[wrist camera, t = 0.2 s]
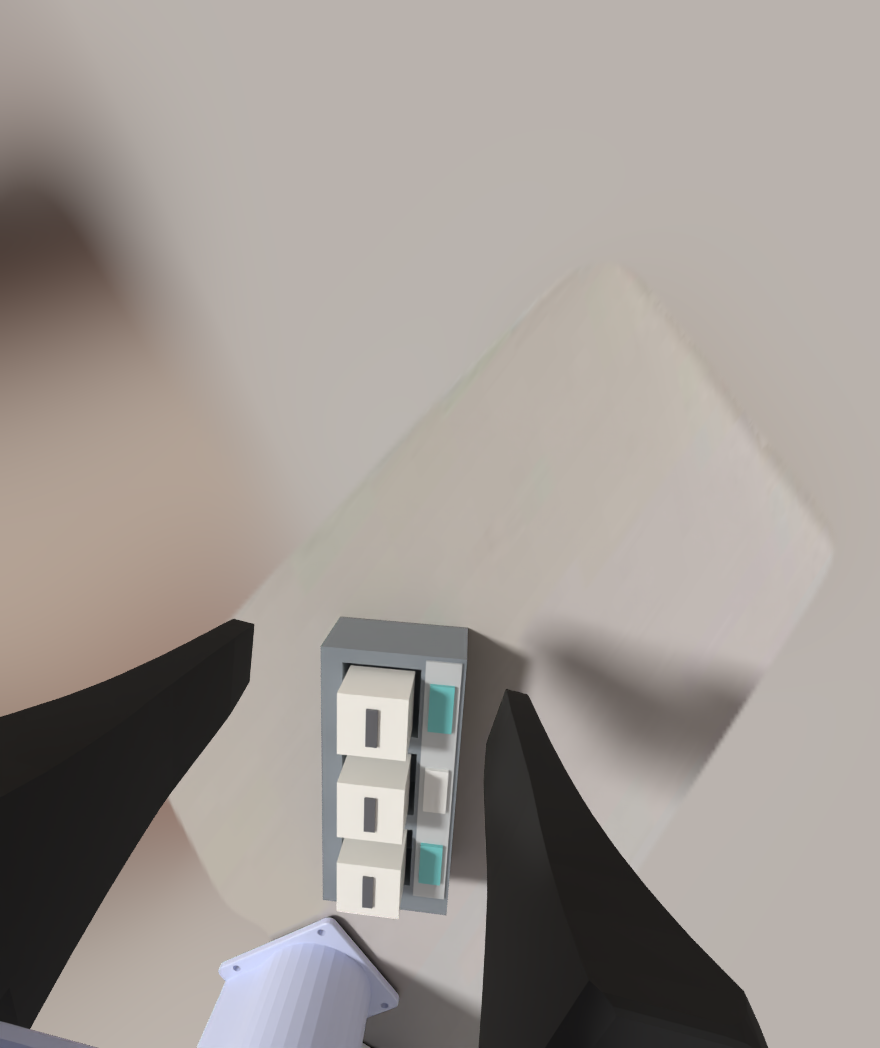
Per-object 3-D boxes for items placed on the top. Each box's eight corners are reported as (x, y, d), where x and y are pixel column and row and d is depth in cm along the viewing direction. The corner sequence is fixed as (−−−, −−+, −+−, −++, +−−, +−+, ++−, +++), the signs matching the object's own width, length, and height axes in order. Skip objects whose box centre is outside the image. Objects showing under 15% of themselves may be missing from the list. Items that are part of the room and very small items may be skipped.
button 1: (405, 874, 23) (398, 921, 21) (348, 867, 23) (336, 913, 21) (407, 828, 22) (400, 872, 20) (349, 822, 22) (336, 864, 20)
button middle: (408, 804, 22) (401, 846, 20) (349, 798, 22) (336, 839, 20) (411, 754, 21) (404, 791, 19) (349, 747, 21) (336, 784, 19)
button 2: (412, 727, 21) (405, 763, 19) (350, 721, 21) (336, 755, 19) (415, 671, 20) (408, 701, 18) (350, 665, 20) (336, 694, 18)
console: (449, 859, 26) (445, 920, 23) (339, 846, 26) (321, 905, 23) (468, 628, 22) (467, 663, 19) (340, 616, 23) (318, 649, 20)
